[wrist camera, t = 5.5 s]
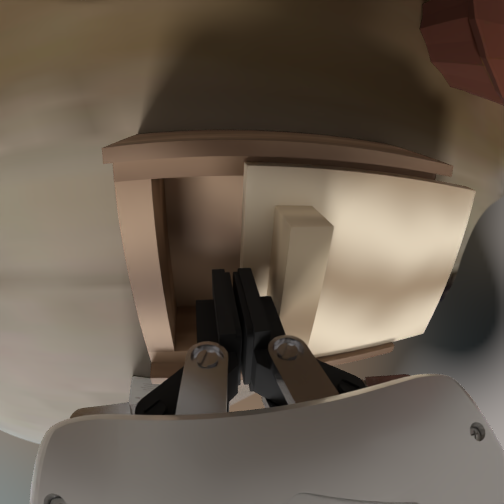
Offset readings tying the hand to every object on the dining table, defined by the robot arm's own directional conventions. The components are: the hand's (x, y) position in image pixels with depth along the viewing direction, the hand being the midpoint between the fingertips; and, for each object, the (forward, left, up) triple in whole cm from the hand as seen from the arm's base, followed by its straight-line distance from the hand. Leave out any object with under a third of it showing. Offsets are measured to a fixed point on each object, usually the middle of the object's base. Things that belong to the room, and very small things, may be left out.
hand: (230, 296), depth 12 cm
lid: (0, +8, -1) cm, 8 cm away
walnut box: (0, +3, -6) cm, 7 cm away
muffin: (-17, +18, -7) cm, 26 cm away
